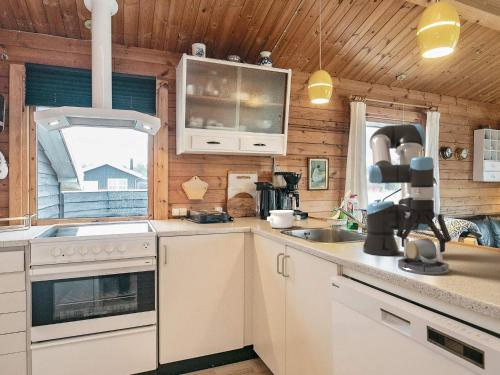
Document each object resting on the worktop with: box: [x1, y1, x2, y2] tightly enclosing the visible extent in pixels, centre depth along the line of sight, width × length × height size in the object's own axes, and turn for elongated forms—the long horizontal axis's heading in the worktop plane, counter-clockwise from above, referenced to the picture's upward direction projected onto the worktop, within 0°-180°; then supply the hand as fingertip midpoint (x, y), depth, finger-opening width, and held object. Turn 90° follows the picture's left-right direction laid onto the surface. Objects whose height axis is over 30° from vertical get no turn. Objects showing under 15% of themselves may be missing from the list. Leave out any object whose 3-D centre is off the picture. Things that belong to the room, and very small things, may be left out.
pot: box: [266, 209, 296, 229], centre depth 235 cm, size 22×17×12 cm
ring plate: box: [397, 256, 450, 276], centre depth 120 cm, size 17×17×2 cm
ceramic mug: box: [405, 237, 437, 264], centre depth 119 cm, size 11×8×8 cm
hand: (422, 258), depth 120 cm, fingers closed on ceramic mug, 11 cm apart
